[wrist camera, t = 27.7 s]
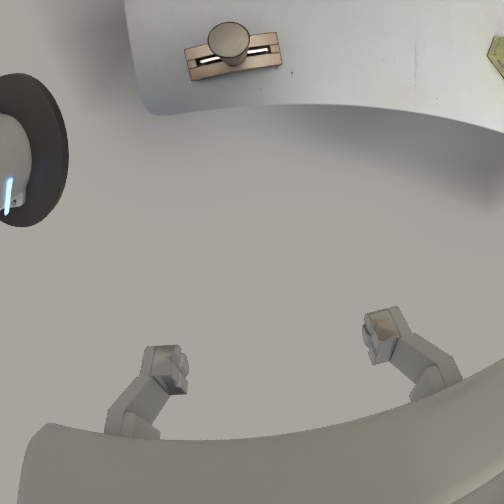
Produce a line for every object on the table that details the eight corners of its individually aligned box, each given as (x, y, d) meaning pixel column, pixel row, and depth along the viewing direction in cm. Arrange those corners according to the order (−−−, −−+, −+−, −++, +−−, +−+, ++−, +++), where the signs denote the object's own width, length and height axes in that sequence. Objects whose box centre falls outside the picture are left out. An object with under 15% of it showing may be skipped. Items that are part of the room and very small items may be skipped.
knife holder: (196, 80, 29) (191, 81, 26) (189, 51, 27) (183, 49, 24) (278, 65, 28) (282, 64, 25) (273, 36, 26) (276, 31, 23)
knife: (208, 73, 28) (177, 70, 15) (204, 54, 27) (169, 35, 13) (266, 62, 28) (288, 49, 14) (262, 43, 26) (281, 14, 13)
